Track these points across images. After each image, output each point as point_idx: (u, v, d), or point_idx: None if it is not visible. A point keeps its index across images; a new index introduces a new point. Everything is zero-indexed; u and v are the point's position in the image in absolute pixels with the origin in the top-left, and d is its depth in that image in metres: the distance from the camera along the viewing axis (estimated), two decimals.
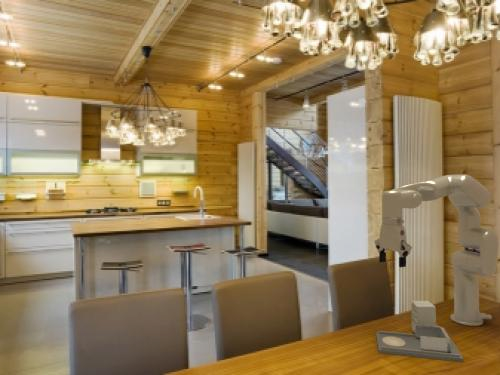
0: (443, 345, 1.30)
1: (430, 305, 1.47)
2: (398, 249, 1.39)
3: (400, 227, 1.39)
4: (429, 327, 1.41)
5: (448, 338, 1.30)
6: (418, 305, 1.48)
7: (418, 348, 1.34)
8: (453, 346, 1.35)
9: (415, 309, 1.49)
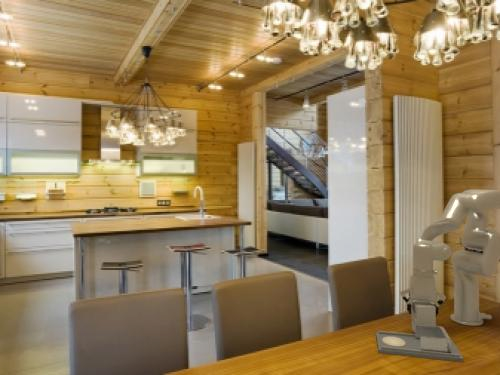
0: (443, 345, 1.30)
1: (429, 305, 1.47)
2: (435, 300, 1.46)
3: (434, 278, 1.48)
4: (429, 327, 1.41)
5: (448, 338, 1.30)
6: (418, 305, 1.48)
7: (418, 348, 1.34)
8: (453, 346, 1.35)
9: (415, 309, 1.49)
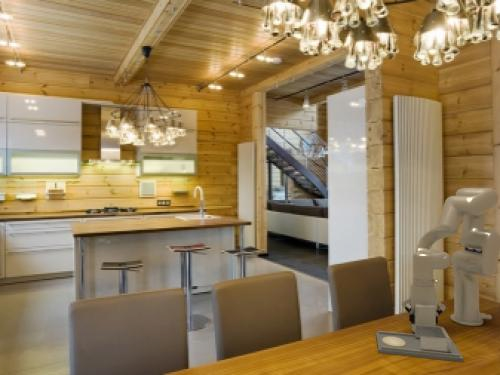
0: (443, 345, 1.30)
1: None
2: (436, 309, 1.47)
3: None
4: (429, 327, 1.41)
5: (448, 338, 1.30)
6: (418, 305, 1.48)
7: (418, 348, 1.34)
8: (453, 346, 1.35)
9: (415, 309, 1.49)
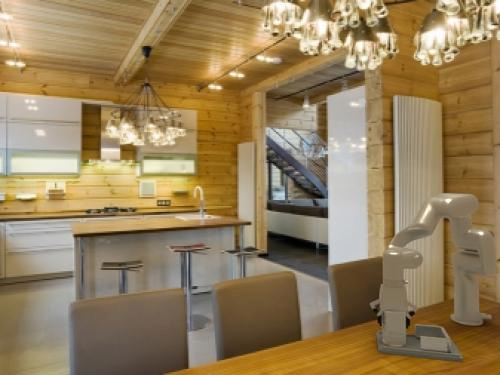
0: (443, 345, 1.30)
1: (400, 311, 1.37)
2: (406, 311, 1.37)
3: (405, 288, 1.38)
4: (429, 327, 1.41)
5: (448, 338, 1.30)
6: None
7: (418, 348, 1.34)
8: (453, 346, 1.35)
9: (384, 315, 1.39)
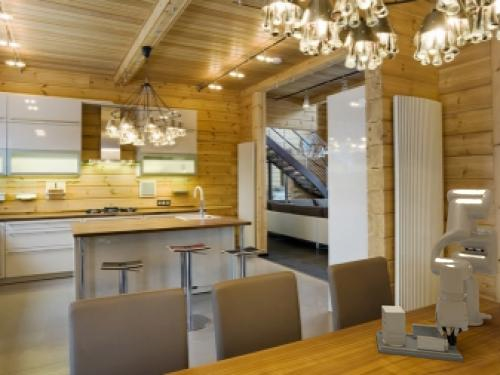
0: (440, 345, 1.30)
1: (399, 311, 1.37)
2: (466, 326, 1.31)
3: (465, 302, 1.32)
4: (426, 327, 1.41)
5: (445, 338, 1.30)
6: (387, 310, 1.38)
7: None
8: (453, 346, 1.35)
9: (384, 315, 1.39)
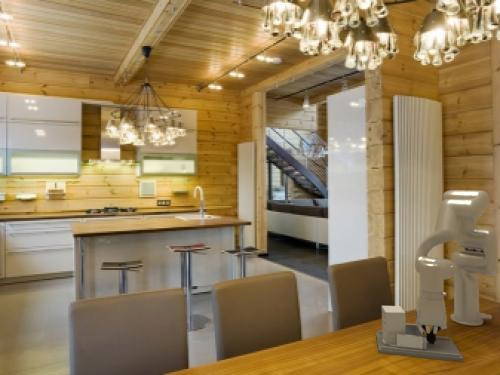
0: (419, 343, 1.32)
1: (399, 311, 1.37)
2: (445, 324, 1.33)
3: (443, 300, 1.34)
4: (407, 325, 1.43)
5: (424, 336, 1.32)
6: (387, 310, 1.38)
7: None
8: (453, 346, 1.35)
9: (384, 315, 1.39)
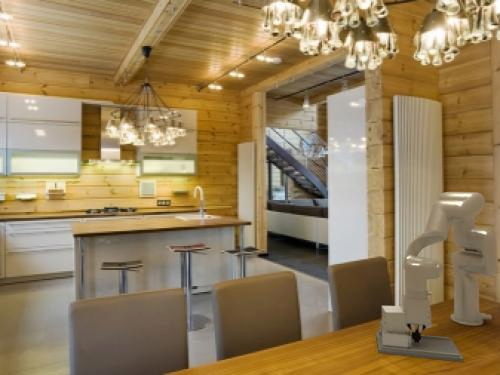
0: (404, 341, 1.33)
1: (399, 311, 1.37)
2: (430, 323, 1.35)
3: (428, 299, 1.36)
4: None
5: (409, 334, 1.34)
6: (387, 310, 1.38)
7: (418, 348, 1.34)
8: (453, 346, 1.35)
9: (384, 315, 1.39)
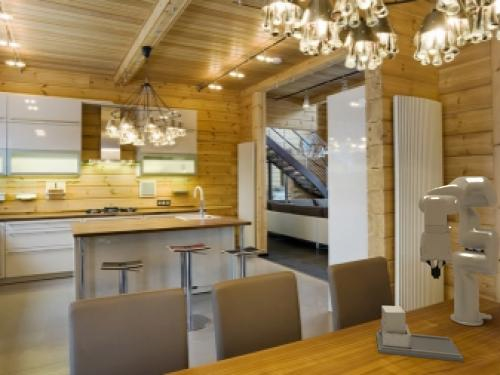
0: (404, 341, 1.33)
1: (399, 311, 1.37)
2: (450, 258, 1.32)
3: (448, 234, 1.33)
4: None
5: (409, 334, 1.34)
6: (387, 310, 1.38)
7: (418, 348, 1.34)
8: (453, 346, 1.35)
9: (384, 315, 1.39)
